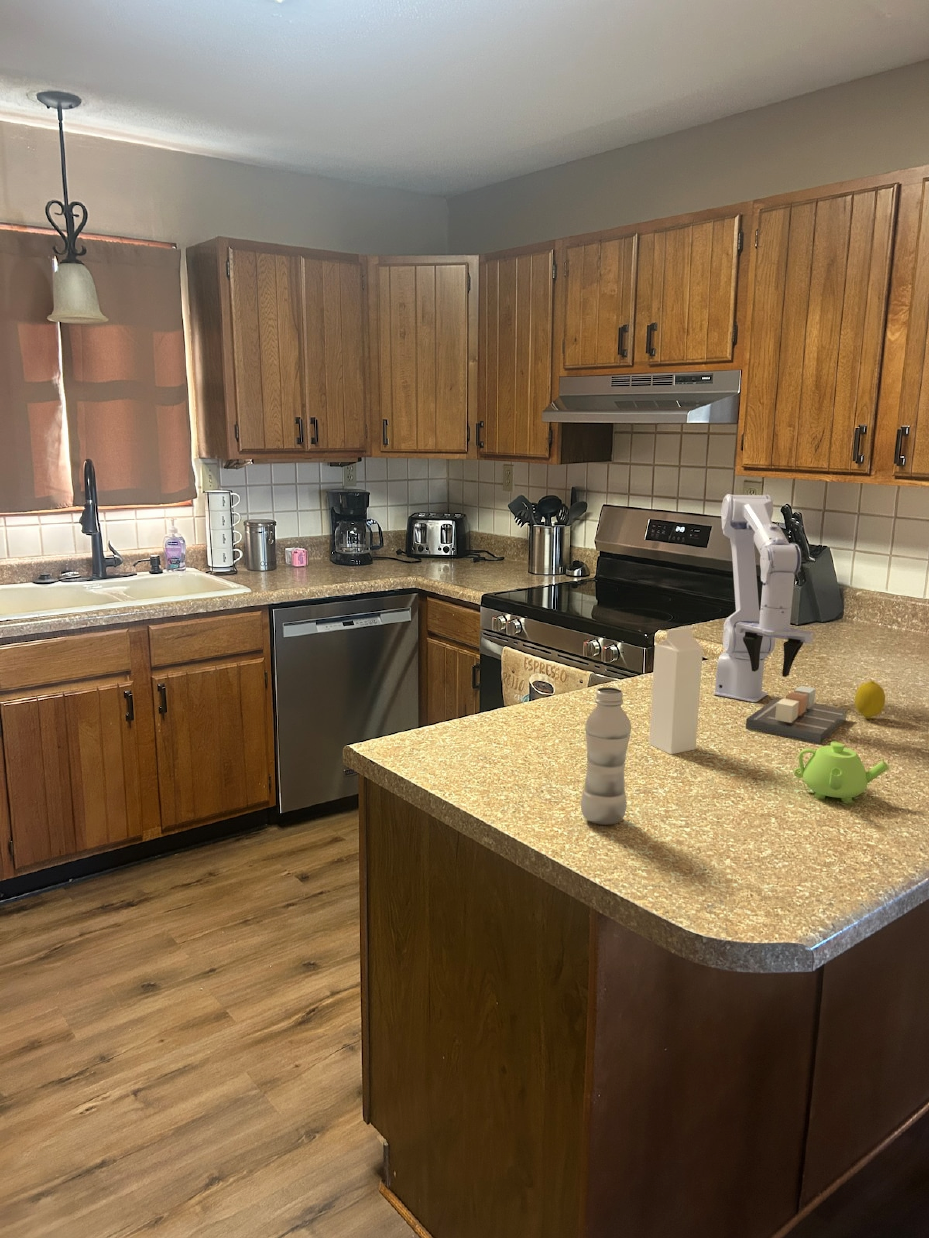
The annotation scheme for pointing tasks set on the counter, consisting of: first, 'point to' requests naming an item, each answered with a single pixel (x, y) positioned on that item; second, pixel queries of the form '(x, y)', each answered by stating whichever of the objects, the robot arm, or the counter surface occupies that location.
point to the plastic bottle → (606, 759)
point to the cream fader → (787, 710)
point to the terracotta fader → (802, 701)
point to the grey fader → (809, 692)
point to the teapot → (836, 772)
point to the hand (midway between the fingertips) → (770, 673)
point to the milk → (676, 692)
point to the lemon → (869, 699)
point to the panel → (798, 722)
